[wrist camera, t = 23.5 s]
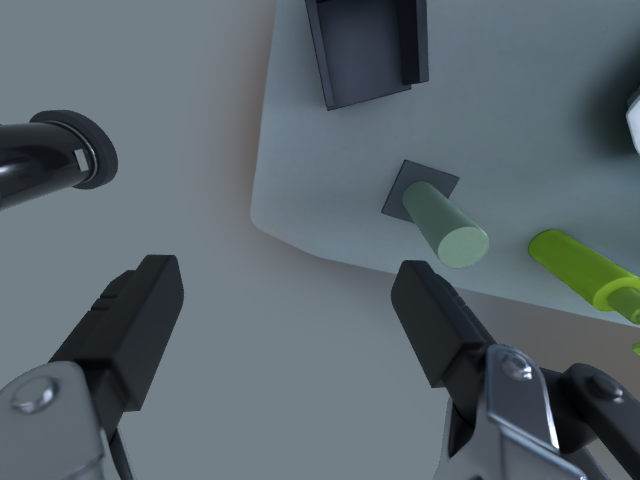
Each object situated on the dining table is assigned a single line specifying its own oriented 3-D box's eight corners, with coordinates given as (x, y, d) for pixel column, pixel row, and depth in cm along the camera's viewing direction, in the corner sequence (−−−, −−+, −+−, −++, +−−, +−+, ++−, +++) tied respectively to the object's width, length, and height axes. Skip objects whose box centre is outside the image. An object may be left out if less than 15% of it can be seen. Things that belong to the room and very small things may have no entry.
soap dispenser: (515, 250, 46) (628, 344, 29) (554, 223, 43) (705, 309, 26) (533, 268, 48) (650, 367, 30) (572, 243, 45) (724, 337, 27)
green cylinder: (396, 207, 42) (428, 261, 28) (411, 177, 40) (453, 220, 26) (425, 216, 43) (471, 273, 29) (441, 186, 41) (499, 234, 27)
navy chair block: (393, 90, 35) (507, 80, 12) (328, 107, 36) (322, 126, 14) (383, -28, 29) (556, -447, 7) (306, -3, 31) (236, -282, 8)
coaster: (381, 212, 44) (381, 213, 43) (404, 159, 39) (405, 160, 39) (429, 226, 45) (431, 228, 44) (458, 177, 40) (459, 178, 40)
